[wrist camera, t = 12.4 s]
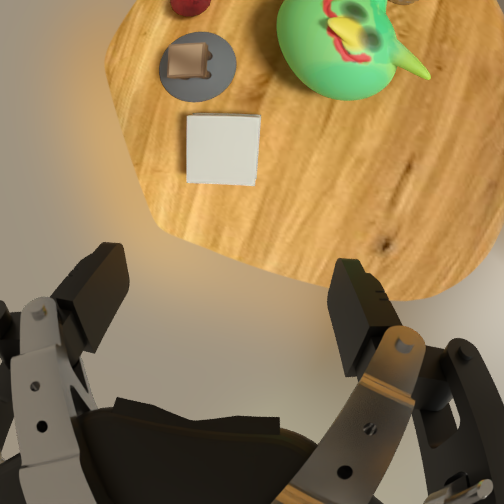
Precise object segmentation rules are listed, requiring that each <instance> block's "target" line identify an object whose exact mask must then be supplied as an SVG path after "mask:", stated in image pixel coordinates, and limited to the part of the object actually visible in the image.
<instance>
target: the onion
mask: <svg viewBox="0 0 504 504" xmlns="http://www.w3.org/2000/svg"><path fill="white" fill-rule="evenodd" d="M210 2H211V0H170V3H171V6H172V9H173V10H174V11H175V12H176V13H177V14H180V15H182V16H185V17H187V16H195V15H199V14H201V13H202V12H204V11H205V10H206V9H207V8H208V6H209V5H210Z"/></svg>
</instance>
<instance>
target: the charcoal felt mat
mask: <svg viewBox="0 0 504 504" xmlns="http://www.w3.org/2000/svg"><path fill="white" fill-rule="evenodd" d="M201 42H205V43H206V44H207V45H208V50H209V51H210V52H211V53H212V55H213V57H212V59H211V60H207V70H208V71H209V72H211V74H212V76H211V78H210V79H207V80H206V79H203V78H201V77H198V78H190V79H188V80H183V79H180V78H176V79H171V78H167V67H168V51H169V47H168V48H167V49H166V51H165V52H164V54H163V56H162V59H161V62H160V68H159V73H160V79H161V82H162V84H163V86H164V87H165V89H166V90H167V91H168V92H169V93H170V94H171V95H172V96H174V97H176V98H178V99H180V100H183V101H187V102H202V101H206V100H209V99H212V98H214V97H216V96H217V95H219V94H220V93H222V92H223V91H224V90H225V89H226V88H227V87H228V86H229V84H230V83H231V81H232V79H233V77H234V75H235V71H236V57H235V54H234V51H233V49H232V47H231V46H230V45H229V44H228V42H227V41H225V40H224V39H223V38H221V37H220V36H218V35H215V34H212V33H208V32H194V33H190V34H187V35H184V36H182V37H180V38H178V39H177V40H175V41H174V42H173V43H172V44H184V43H201ZM172 44H171V45H172Z"/></svg>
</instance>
